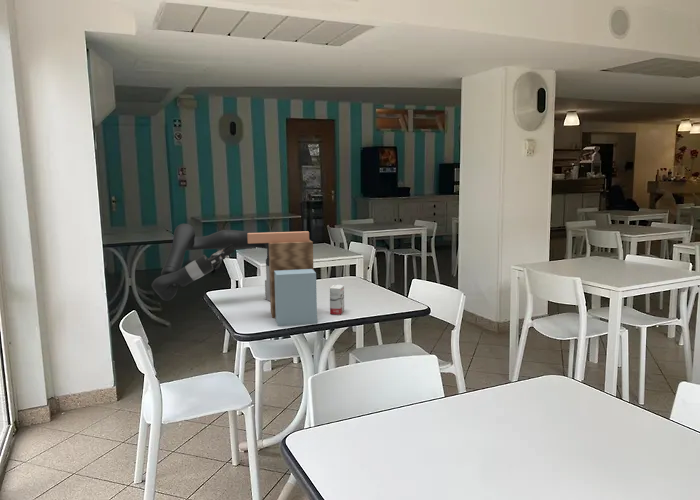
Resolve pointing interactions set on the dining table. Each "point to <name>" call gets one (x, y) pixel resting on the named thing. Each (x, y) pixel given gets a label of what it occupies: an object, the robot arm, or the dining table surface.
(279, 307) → the grey foam block
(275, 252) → the plinth
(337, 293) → the ink box
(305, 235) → the bar
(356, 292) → the dining table surface
